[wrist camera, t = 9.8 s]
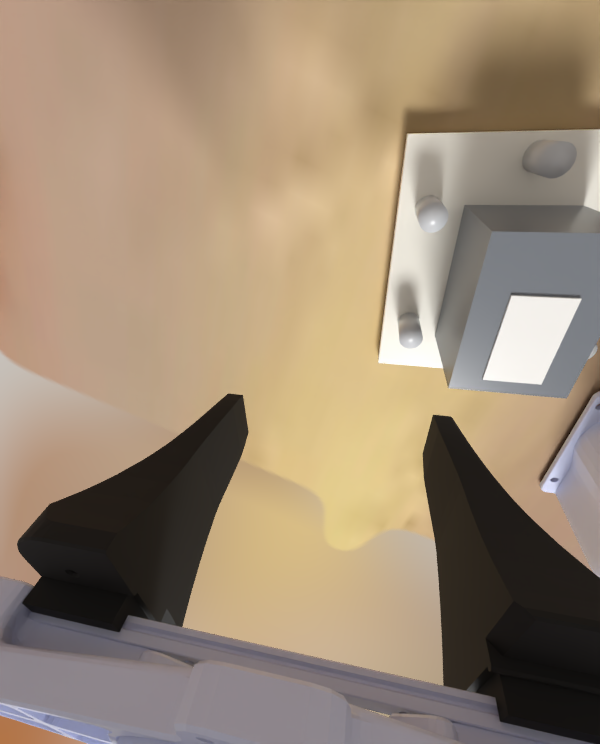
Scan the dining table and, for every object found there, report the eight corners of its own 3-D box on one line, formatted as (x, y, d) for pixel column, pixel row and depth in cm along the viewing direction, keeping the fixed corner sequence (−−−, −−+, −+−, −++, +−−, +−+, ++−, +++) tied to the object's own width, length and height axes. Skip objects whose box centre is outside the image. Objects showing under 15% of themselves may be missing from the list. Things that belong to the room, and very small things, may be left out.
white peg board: (564, 370, 21) (587, 400, 19) (378, 356, 23) (378, 381, 20) (689, 126, 14) (748, 127, 12) (406, 133, 16) (411, 135, 14)
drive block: (528, 342, 19) (567, 399, 15) (434, 335, 20) (448, 389, 16) (583, 205, 15) (657, 235, 11) (464, 204, 16) (492, 232, 12)
